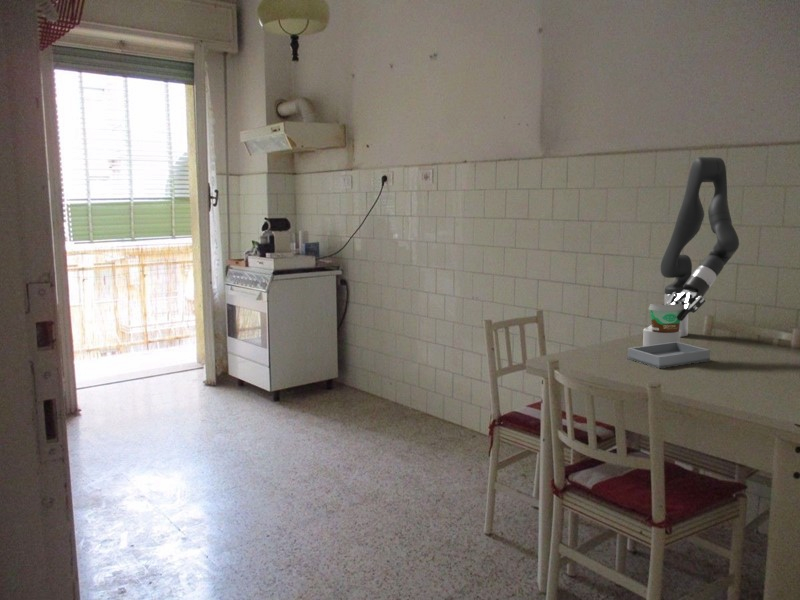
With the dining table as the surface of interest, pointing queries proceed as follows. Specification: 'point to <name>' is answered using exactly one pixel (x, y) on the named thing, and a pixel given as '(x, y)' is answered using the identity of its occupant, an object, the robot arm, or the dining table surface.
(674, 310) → the food container
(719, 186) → the robot arm
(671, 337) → the lumpy-topped squat cylinder
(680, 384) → the dining table surface
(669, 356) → the grey tray
